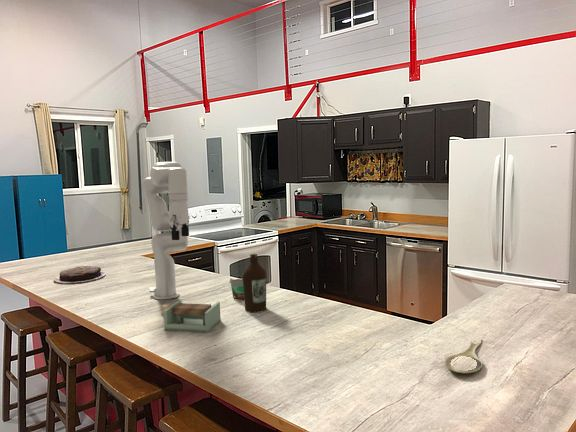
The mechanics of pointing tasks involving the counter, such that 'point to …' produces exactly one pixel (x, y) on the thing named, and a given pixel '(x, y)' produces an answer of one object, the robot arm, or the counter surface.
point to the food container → (237, 288)
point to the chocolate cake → (79, 275)
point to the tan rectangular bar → (165, 307)
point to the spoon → (468, 353)
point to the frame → (192, 320)
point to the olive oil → (254, 286)
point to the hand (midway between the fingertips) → (180, 238)
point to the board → (191, 309)
